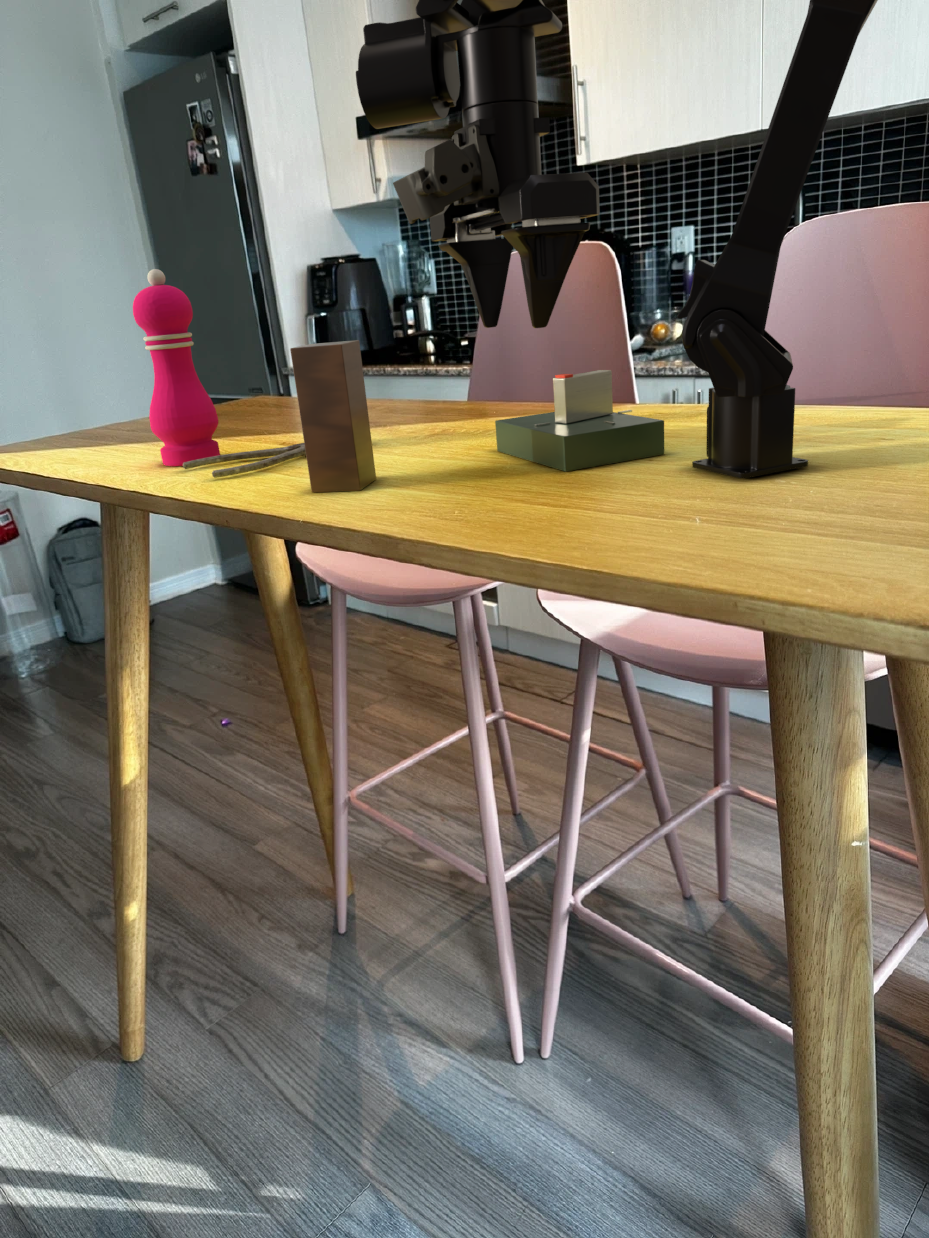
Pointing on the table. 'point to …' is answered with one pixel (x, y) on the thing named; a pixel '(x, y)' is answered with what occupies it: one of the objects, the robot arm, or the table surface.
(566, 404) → the grey slab
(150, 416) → the pepper mill
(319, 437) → the walnut block
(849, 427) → the table surface
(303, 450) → the forked twig
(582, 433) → the dark green flat block
